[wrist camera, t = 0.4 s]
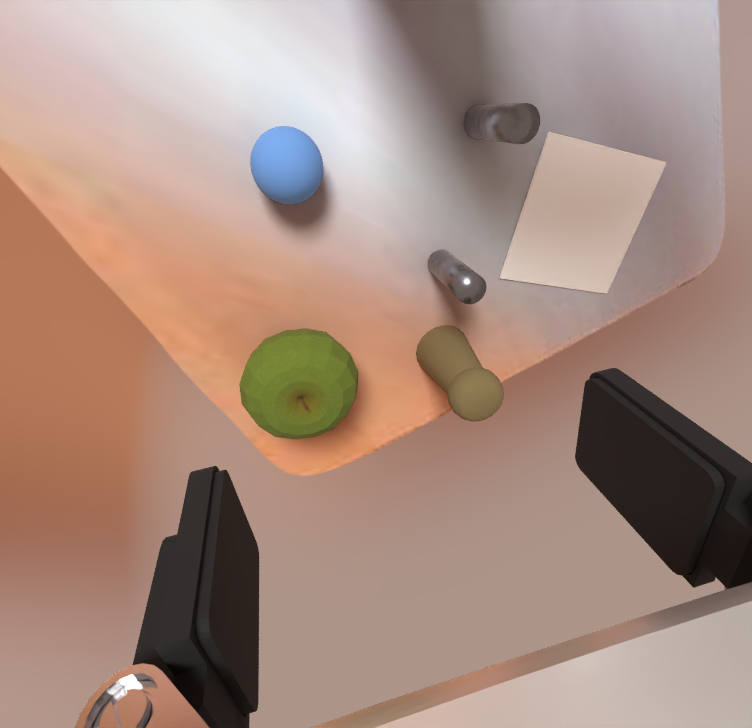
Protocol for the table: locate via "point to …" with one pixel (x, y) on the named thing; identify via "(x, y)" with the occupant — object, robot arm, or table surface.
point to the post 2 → (503, 122)
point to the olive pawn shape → (460, 373)
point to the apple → (299, 384)
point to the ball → (286, 165)
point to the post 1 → (457, 277)
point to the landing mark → (580, 214)
